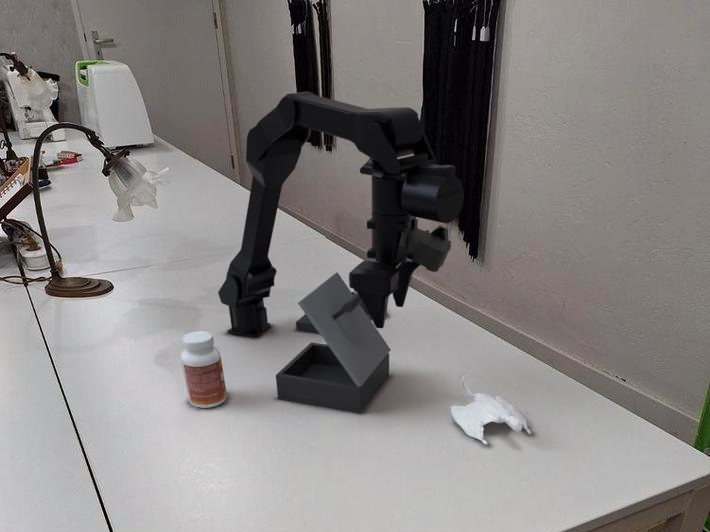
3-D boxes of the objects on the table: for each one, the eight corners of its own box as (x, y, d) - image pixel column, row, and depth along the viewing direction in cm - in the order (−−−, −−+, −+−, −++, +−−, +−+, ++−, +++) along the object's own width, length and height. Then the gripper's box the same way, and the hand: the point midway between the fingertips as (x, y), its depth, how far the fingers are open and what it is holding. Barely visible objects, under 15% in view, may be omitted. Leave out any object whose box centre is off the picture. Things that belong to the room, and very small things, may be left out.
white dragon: (429, 399, 105) (430, 376, 103) (484, 387, 108) (486, 365, 106) (486, 456, 92) (489, 430, 89) (548, 441, 94) (552, 416, 92)
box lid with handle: (297, 303, 96) (320, 286, 93) (333, 274, 106) (355, 257, 103) (358, 387, 100) (382, 373, 97) (387, 352, 110) (410, 338, 107)
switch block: (296, 330, 130) (294, 313, 128) (312, 315, 136) (311, 299, 134) (342, 336, 127) (341, 319, 125) (357, 321, 133) (357, 304, 131)
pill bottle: (233, 402, 107) (224, 338, 100) (198, 413, 104) (186, 348, 97) (217, 387, 111) (208, 325, 104) (183, 398, 108) (171, 335, 102)
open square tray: (277, 398, 107) (275, 375, 105) (312, 364, 117) (311, 342, 115) (360, 413, 102) (360, 389, 100) (389, 376, 112) (389, 353, 110)
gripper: (427, 233, 83) (421, 348, 92) (464, 199, 96) (456, 302, 106) (346, 226, 86) (348, 337, 95) (393, 195, 100) (391, 294, 109)
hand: (390, 316), depth 101 cm, fingers open, 9 cm apart
